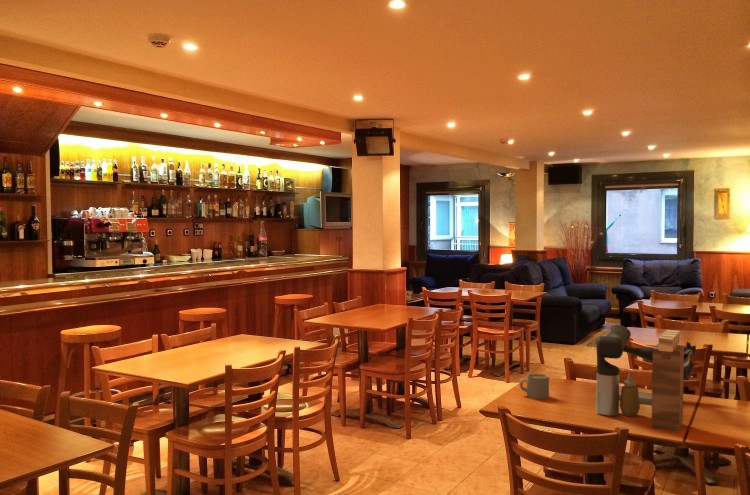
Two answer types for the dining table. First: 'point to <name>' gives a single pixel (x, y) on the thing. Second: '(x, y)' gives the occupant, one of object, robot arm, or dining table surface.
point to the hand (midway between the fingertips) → (676, 342)
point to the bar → (669, 340)
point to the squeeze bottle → (629, 398)
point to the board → (642, 397)
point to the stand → (667, 389)
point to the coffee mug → (536, 386)
